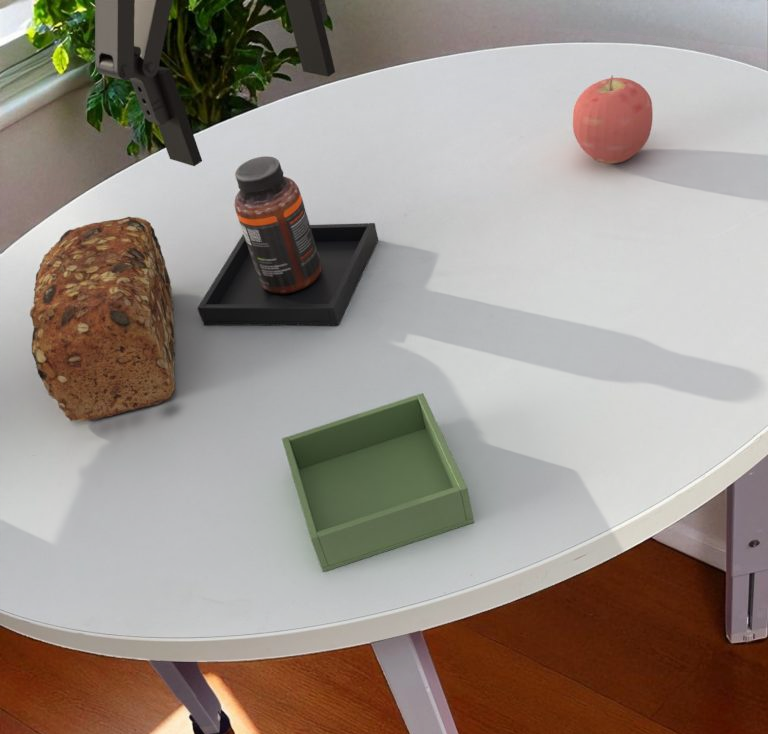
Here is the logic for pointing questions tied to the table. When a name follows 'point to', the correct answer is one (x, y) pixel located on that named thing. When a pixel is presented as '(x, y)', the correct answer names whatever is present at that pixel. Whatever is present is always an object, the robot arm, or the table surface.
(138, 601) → the table surface
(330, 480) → the bin
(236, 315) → the black square tray
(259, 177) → the supplement bottle
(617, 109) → the apple
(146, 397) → the bread
